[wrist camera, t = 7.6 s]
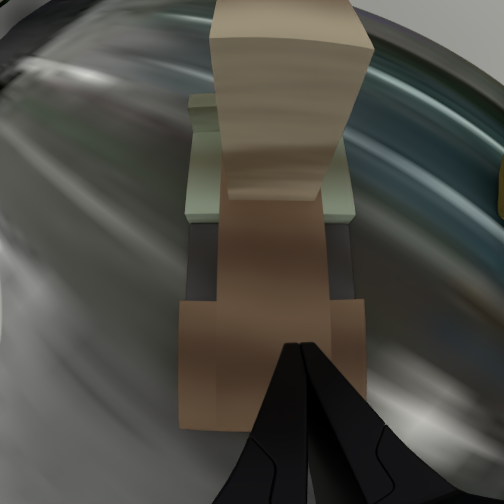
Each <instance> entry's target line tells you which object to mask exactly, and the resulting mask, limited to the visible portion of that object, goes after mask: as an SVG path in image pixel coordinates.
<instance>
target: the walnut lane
mask: <svg viewBox="0 0 504 504" xmlns="http://www.w3.org/2000/svg"><path fill="white" fill-rule="evenodd" d="M188 111H189V116H190V120H191V124H192V128H193V140H192V148H191V157H190V165H189V175H188V184H187V195H186V205H185V215H186V218H187V220H188V222H189V224H190V235H189V251H188V269H187V292H186V301H179V333H178V405H179V428H180V429H192V430H208V431H238V432H251V430H252V427H253V425H254V422H255V420H256V417H257V415H258V412H259V410H260V407H261V404H262V402H263V399H264V397H265V394H266V391H267V389H268V386H269V383H270V381H271V378H272V375H273V373H274V370H275V367H276V364H277V362H278V359H279V356H280V353H281V350H282V347H283V345H284V343H289V342H297V343H301V342H314V343H316V345H317V346H318V347H319V348H320V349H321V350H322V351H323V353H324V354H325V355H326V356H327V357H328V358H329V360H330V361H331V362H332V363H333V364H334V365H335V366H336V368H337V369H338V370H339V371H340V372H341V373H342V374H343V376H344V377H345V378H346V379H347V380H348V381H349V382H350V384H351V385H352V386H353V387H354V388H355V389H356V390H357V392H358V393H359V394H360V395H361V396H362V397H363V398H364V400H365V401H366V389H367V363H366V327H365V307H364V299H355V296H354V282H353V269H352V258H351V247H350V237H349V228H348V224H349V223H350V221H351V220H352V219H353V218H354V216H355V215H356V214H355V207H354V200H353V193H352V187H351V181H350V175H349V169H348V163H347V157H346V152H345V147H344V142H343V137H342V136H341V138H340V141H339V143H338V146H337V148H336V151H335V153H334V156H333V158H332V161H331V163H330V165H329V168H328V170H327V173H326V175H325V178H324V180H323V182H322V185H321V187H320V190H319V192H318V194H317V197H316V199H315V201H282V200H229V197H228V190H227V182H226V174H225V167H224V159H223V151H222V143H221V135H220V127H219V119H218V111H217V102H216V94H215V93H207V94H190V97H189V103H188ZM350 114H351V113H350ZM348 119H349V118H348ZM346 124H347V123H346ZM345 127H346V126H345ZM344 129H345V128H344ZM343 132H344V131H343ZM342 134H343V133H342ZM197 223H219V224H197Z"/></svg>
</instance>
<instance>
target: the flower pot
mask: <svg viewBox="0 0 504 504" xmlns="http://www.w3.org/2000/svg"><path fill="white" fill-rule="evenodd" d="M498 214H499V216H500V217H501V218H502V219H503V220H504V155H503V159H502V163H501V167H500V172H499V195H498Z"/></svg>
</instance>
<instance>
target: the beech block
mask: <svg viewBox="0 0 504 504" xmlns="http://www.w3.org/2000/svg"><path fill="white" fill-rule="evenodd" d="M209 42H210V51H211V60H212V68H213V77H214V86H215V94H216V102H217V111H218V119H219V127H220V135H221V143H222V151H223V159H224V167H225V174H226V182H227V190H228V197H229V200H282V201H315V199H316V197H317V194H318V192H319V190H320V187H321V185H322V182H323V180H324V178H325V175H326V173H327V170H328V168H329V165H330V163H331V161H332V158H333V156H334V153H335V151H336V148H337V146H338V143H339V141H340V138H341V136H342V133H343V131H344V128H345V126H346V123H347V121H348V118H349V116H350V113H351V111H352V108H353V105H354V103H355V100H356V98H357V95H358V92H359V90H360V87H361V85H362V82H363V79H364V77H365V74H366V71H367V69H368V66H369V63H370V60H371V58H372V55H373V52H374V47H373V45H372V43H371V41H370V39H369V37H368V35H367V33H366V31H365V29H364V27H363V25H362V23H361V22H360V20H359V18H358V16H357V14H356V12H355V11H354V9H353V7H352V5H351V4H350V2H349V0H217V2H216V7H215V12H214V16H213V21H212V26H211V31H210V36H209Z"/></svg>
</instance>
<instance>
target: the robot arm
mask: <svg viewBox="0 0 504 504" xmlns="http://www.w3.org/2000/svg"><path fill="white" fill-rule="evenodd" d="M384 425H385V422H384V421H383V420H382V419H381V418H380V417H379V415H378V414H377V413H376V412H375V411H374V410H373V409H372V408H371V406H370V405H369V404H368V403H367V402H366V401H365V400H364V398H363V397H362V396H361V395H360V394H359V393H358V392H357V390H356V389H355V388H354V387H353V386H352V385H351V384H350V382H349V381H348V380H347V379H346V378H345V377H344V376H343V374H342V373H341V372H340V371H339V370H338V369H337V368H336V366H335V365H334V364H333V363H332V362H331V361H330V360H329V358H328V357H327V356H326V355H325V354H324V353H323V351H322V350H321V349H320V348H319V347H318V346H317V345H316V343H314V342H301V343H297V342H289V343H284V345H283V347H282V350H281V353H280V356H279V359H278V362H277V364H276V367H275V370H274V373H273V375H272V378H271V381H270V383H269V386H268V389H267V391H266V394H265V397H264V399H263V402H262V404H261V407H260V410H259V412H258V415H257V417H256V420H255V422H254V425H253V427H252V430H251V432H250V435H249V438H248V439H247V442H246V444H245V447H244V449H243V451H242V453H241V456H240V458H239V460H238V462H237V464H236V466H235V468H234V469H233V471H232V473H231V475H230V476H229V478H228V480H227V481H226V483H225V485H224V486H223V488H222V489H221V491H220V492H219V494H218V495H217V497H216V498H215V500H214V501H213V502H212V504H307V483H308V463H309V468H310V474H311V479H312V484H313V489H314V495H315V500H316V504H504V500H499V499H493V498H488V497H483V496H478V495H473V494H469V493H466V492H464V491H461V490H459V489H457V488H456V487H454V486H453V485H451V484H450V483H449V482H447V481H446V480H445V479H444V478H443V477H441V476H440V475H439V474H438V473H437V472H435V471H434V470H433V469H432V468H431V467H429V466H428V465H427V464H426V463H425V462H424V461H422V460H421V459H420V458H419V457H418V456H417V455H416V454H415V453H414V452H412V451H411V450H410V449H409V448H408V447H407V446H406V445H405V444H404V443H403V442H402V441H401V440H400V439H399V438H398V437H397V436H396V434H395V433H394V432H393V431H392V430H391V429H390V428H389V427H388V425H385V426H384Z"/></svg>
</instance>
